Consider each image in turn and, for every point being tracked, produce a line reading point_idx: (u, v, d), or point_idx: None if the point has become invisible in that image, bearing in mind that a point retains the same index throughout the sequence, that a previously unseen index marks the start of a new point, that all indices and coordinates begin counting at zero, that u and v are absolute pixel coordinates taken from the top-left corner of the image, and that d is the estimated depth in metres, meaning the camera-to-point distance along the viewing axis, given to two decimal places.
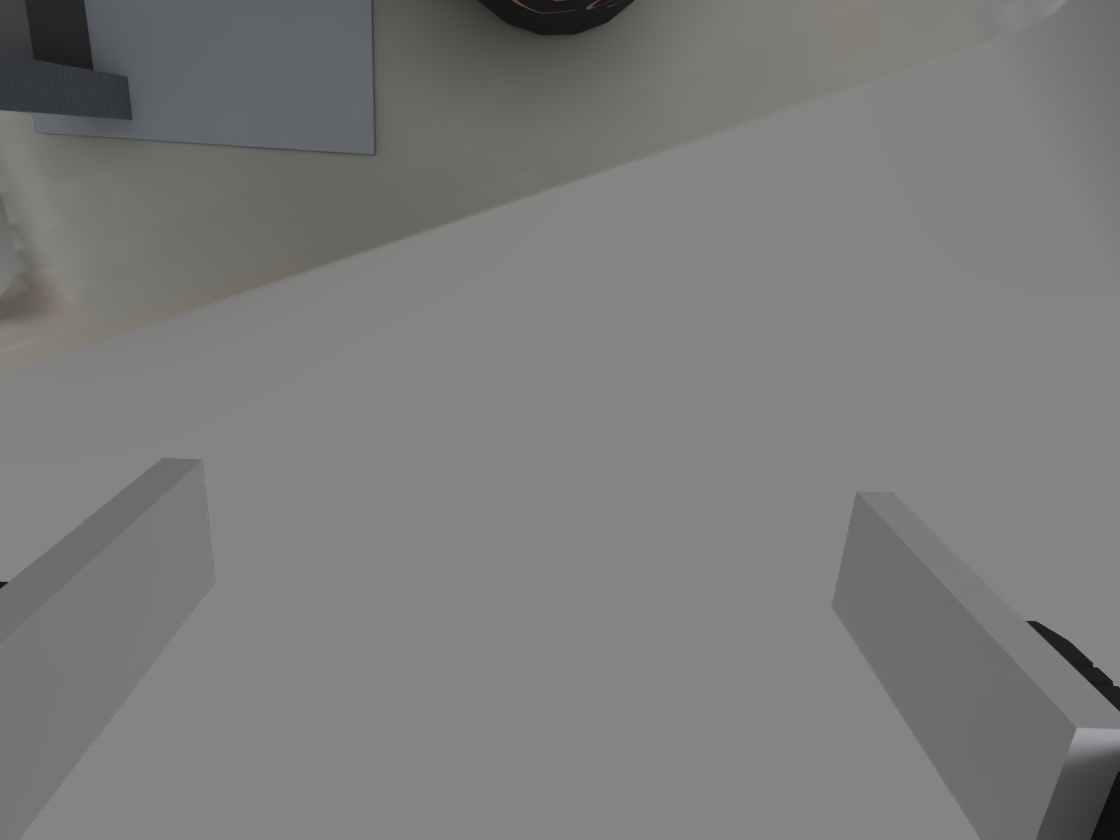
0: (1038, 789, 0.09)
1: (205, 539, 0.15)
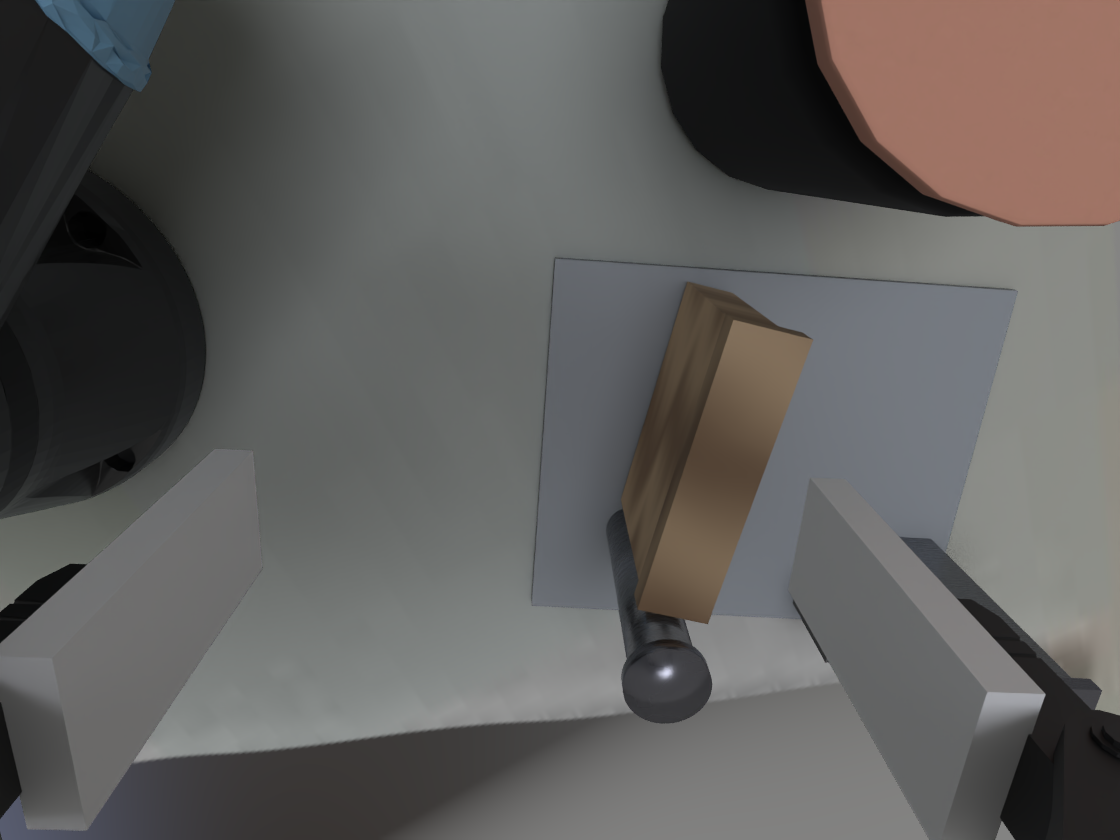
0: (955, 752, 0.10)
1: (254, 527, 0.15)
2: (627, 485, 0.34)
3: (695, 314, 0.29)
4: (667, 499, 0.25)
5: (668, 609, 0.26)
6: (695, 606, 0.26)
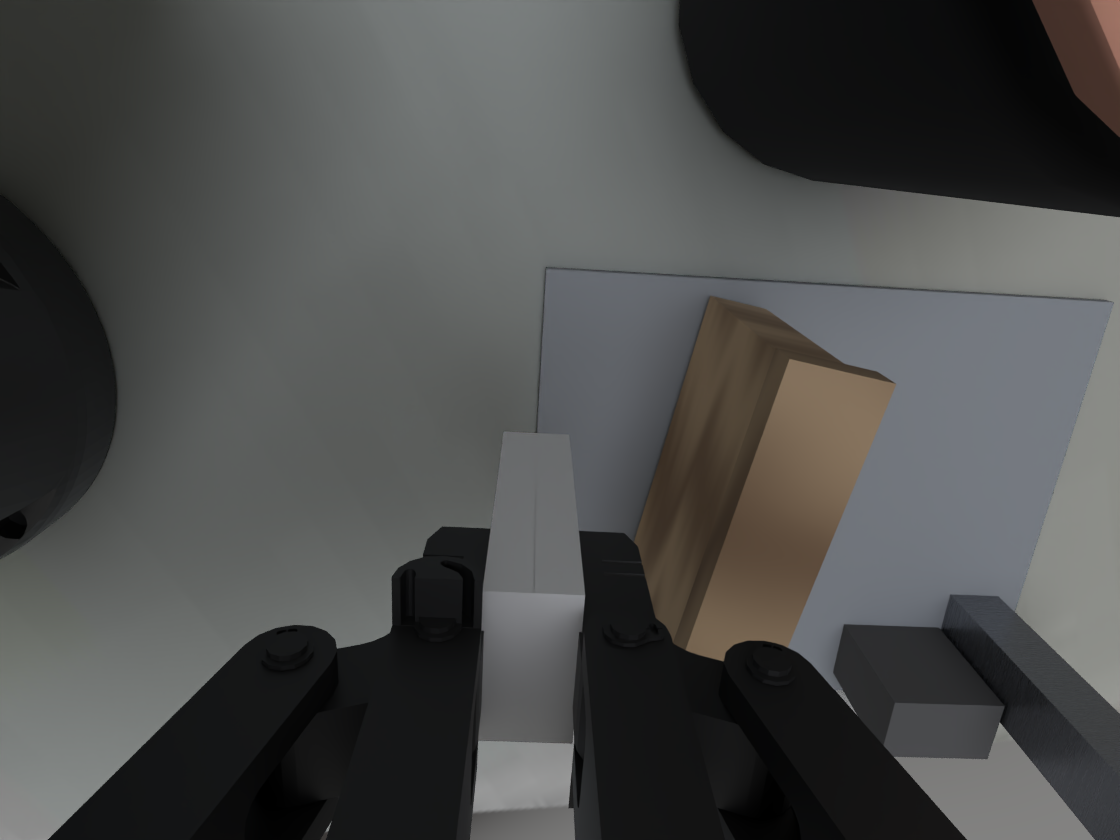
0: None
1: None
2: (637, 542, 0.28)
3: (724, 340, 0.23)
4: (696, 587, 0.19)
5: None
6: None
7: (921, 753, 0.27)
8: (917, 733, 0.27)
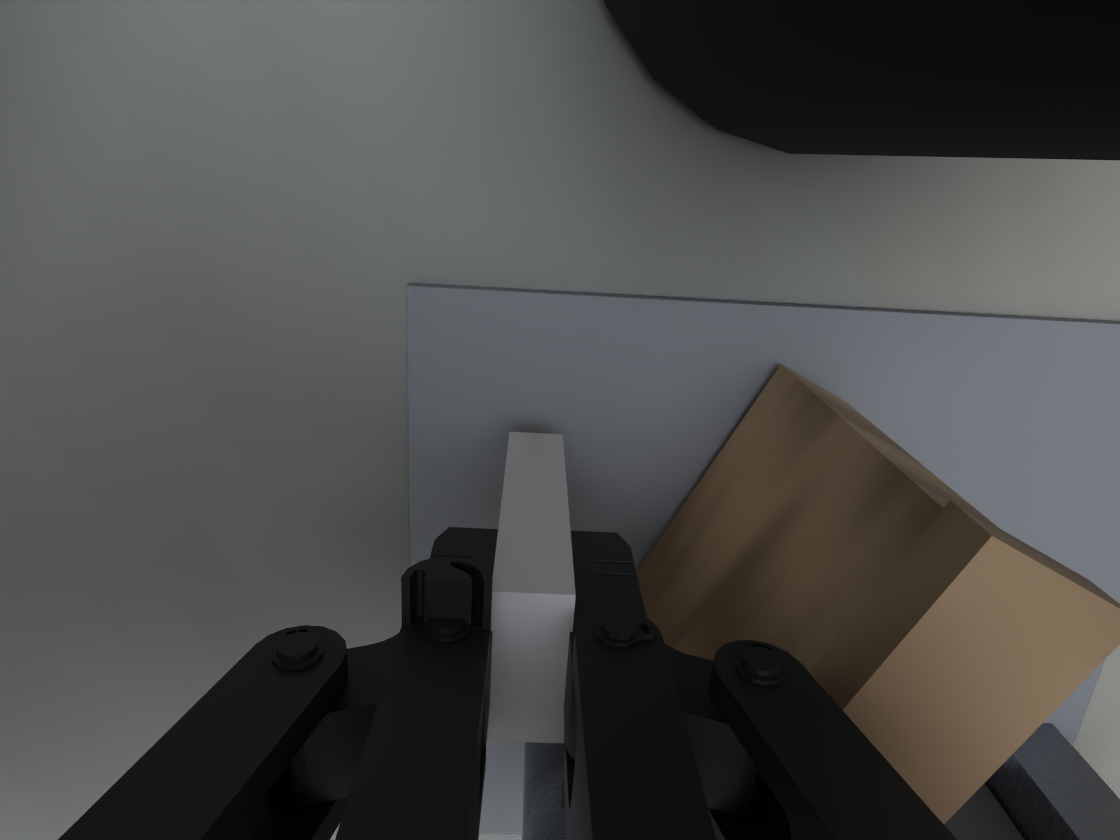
0: None
1: None
2: None
3: (803, 437, 0.15)
4: None
5: None
6: None
7: None
8: None
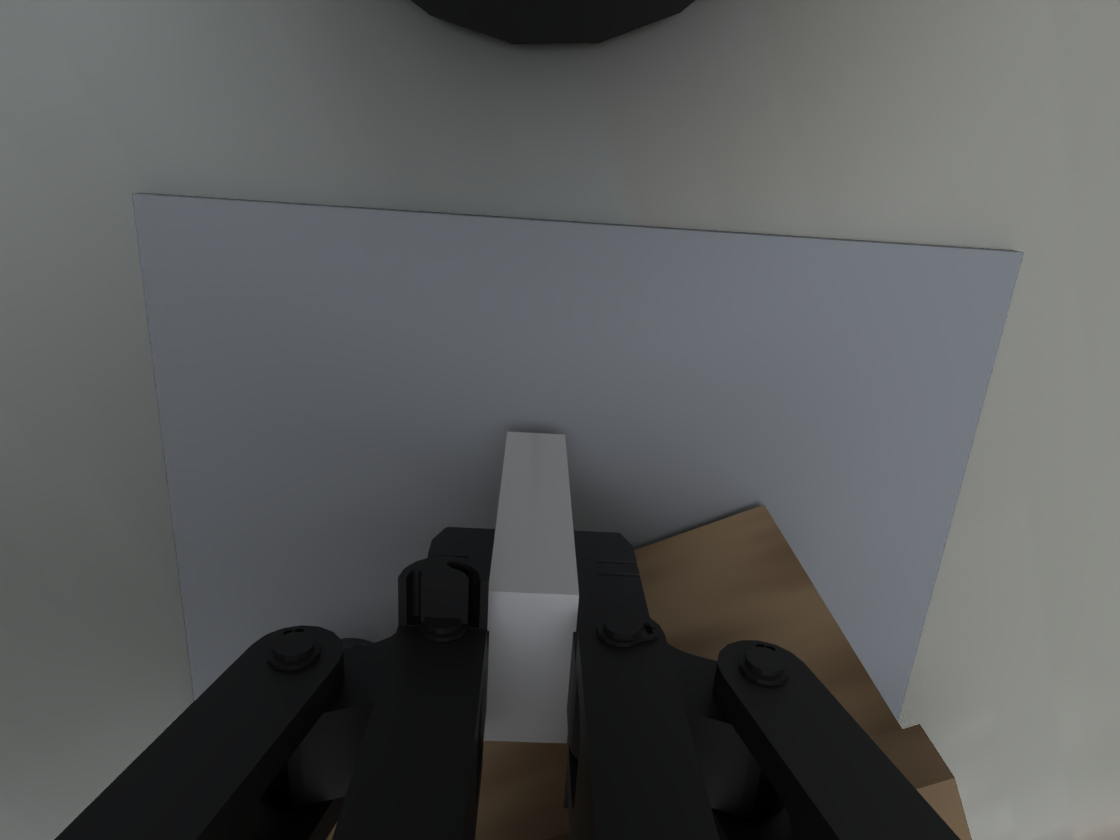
0: None
1: None
2: None
3: (766, 580, 0.16)
4: None
5: None
6: None
7: None
8: None
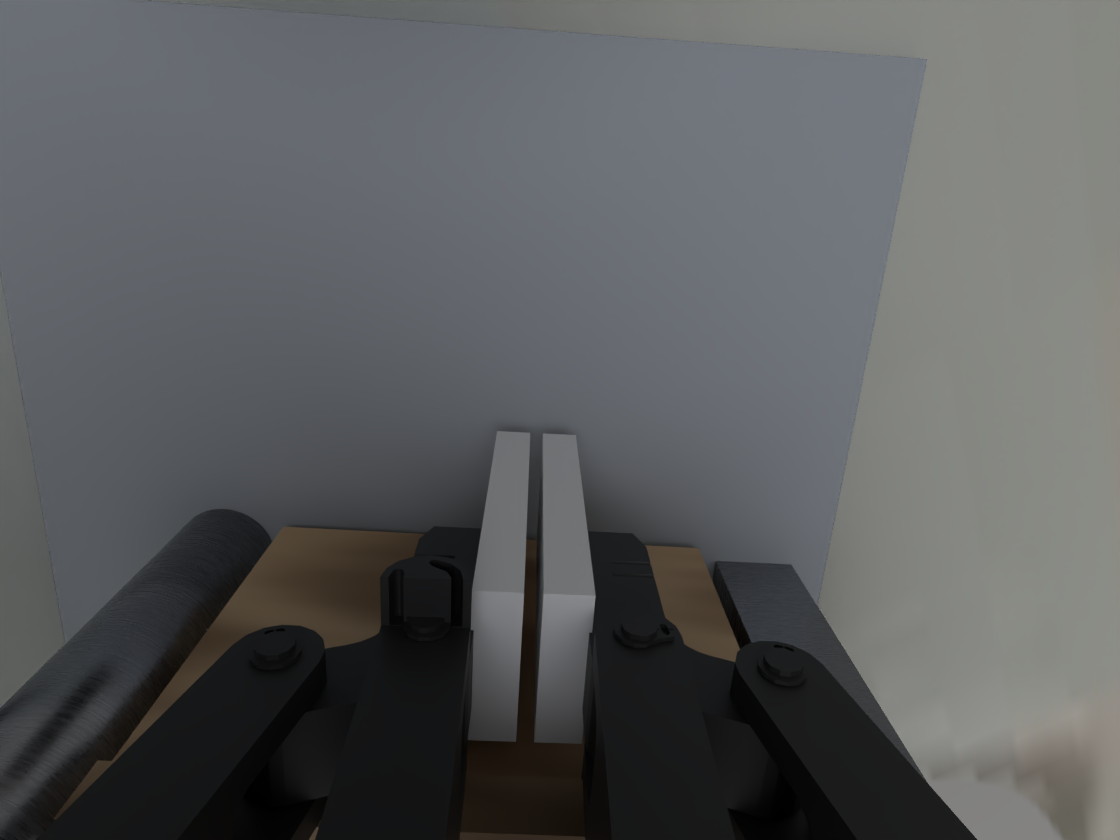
0: (539, 651, 0.11)
1: None
2: (316, 537, 0.18)
3: (689, 614, 0.16)
4: None
5: None
6: None
7: None
8: None
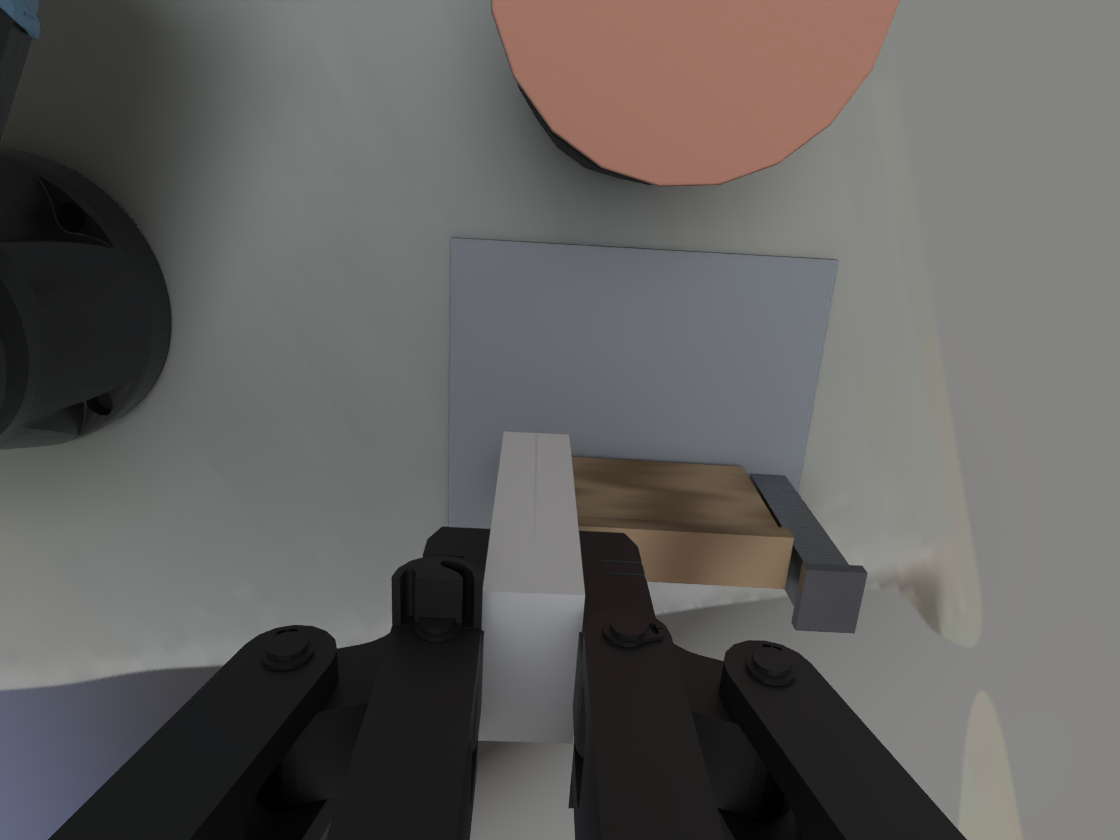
0: None
1: None
2: (574, 460, 0.41)
3: (740, 488, 0.39)
4: (645, 522, 0.34)
5: None
6: None
7: None
8: None
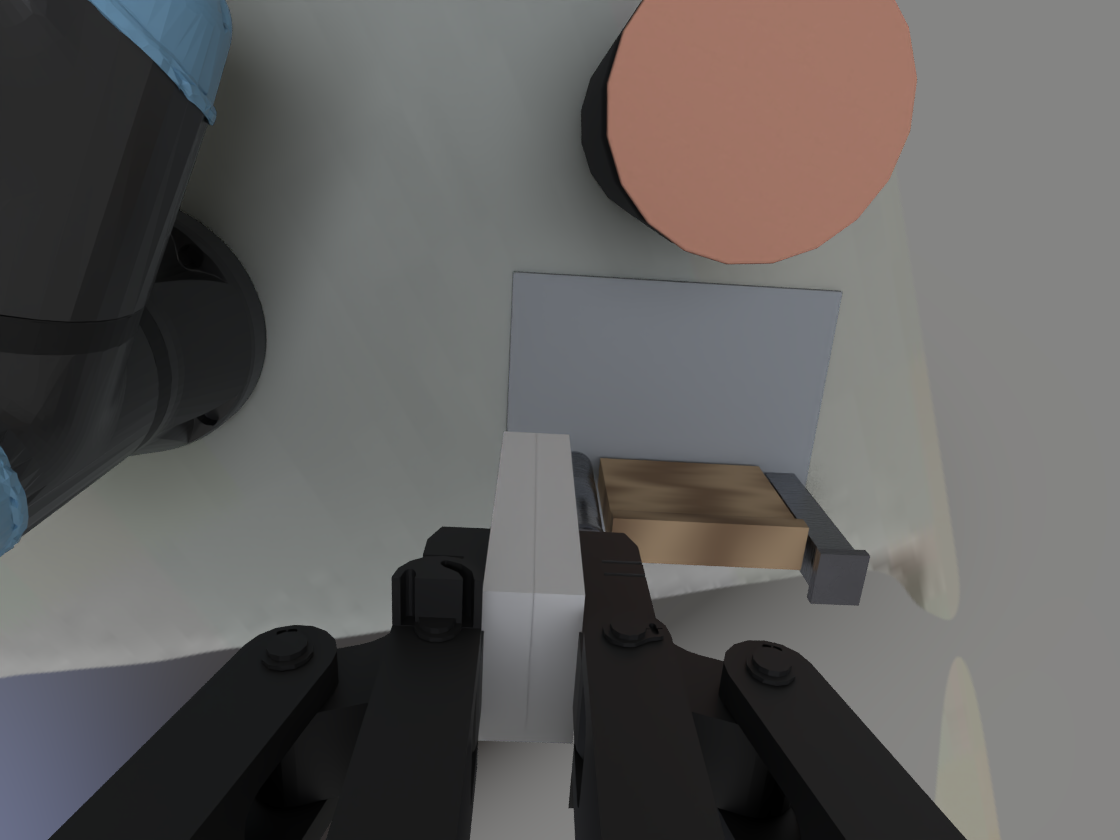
0: None
1: None
2: (615, 461, 0.48)
3: (759, 485, 0.46)
4: (686, 515, 0.40)
5: None
6: None
7: None
8: None
